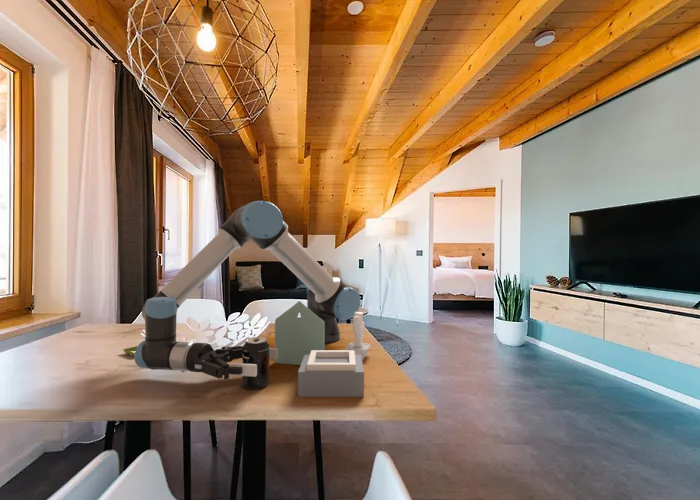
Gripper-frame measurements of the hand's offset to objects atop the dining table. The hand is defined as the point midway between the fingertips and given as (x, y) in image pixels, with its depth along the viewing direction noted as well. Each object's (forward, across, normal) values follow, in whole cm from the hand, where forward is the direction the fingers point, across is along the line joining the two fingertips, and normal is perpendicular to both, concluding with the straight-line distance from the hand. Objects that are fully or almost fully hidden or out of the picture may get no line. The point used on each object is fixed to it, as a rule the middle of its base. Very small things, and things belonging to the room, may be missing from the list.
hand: (267, 361), depth 88 cm
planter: (+3, -21, -7) cm, 23 cm away
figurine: (+20, -28, -7) cm, 36 cm away
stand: (+16, -4, -6) cm, 18 cm away
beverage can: (-3, 0, -7) cm, 7 cm away
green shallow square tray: (-53, -20, -7) cm, 57 cm away
